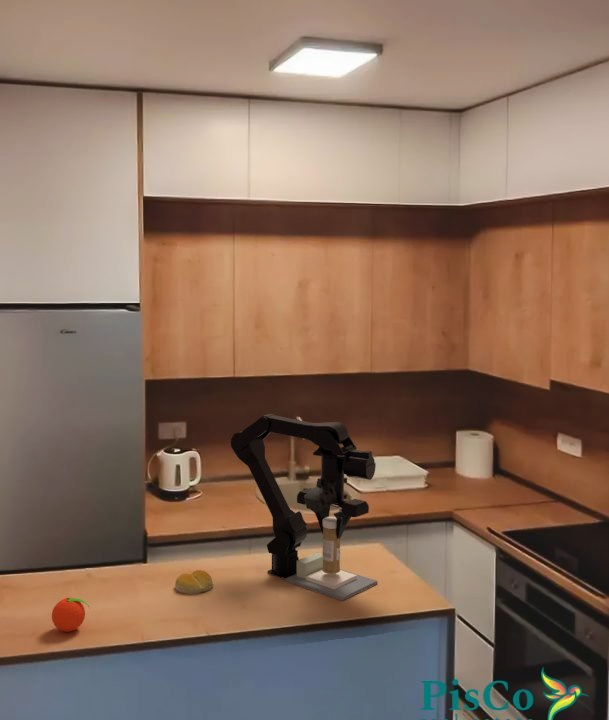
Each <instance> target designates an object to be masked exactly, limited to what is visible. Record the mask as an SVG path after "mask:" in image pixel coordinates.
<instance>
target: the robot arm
mask: <svg viewBox="0 0 609 720" xmlns="http://www.w3.org/2000/svg"><path fill="white" fill-rule="evenodd" d="M271 433H275V434H278V435H279V434H280V435H283V436H284V435H285V436H289V437H294V438H298V439H299V438H300V439H304V440H307V441H310V442H311V443H313V444H314V445H315V446H318V448H317V449H315V450H314V452H313V453H312V455H313V456H316V457H321V459H320V477H319V478H317V480H316V486H315V487H311V488H310V487H309V488H306V489H303V490H300V491H299V492H298V493H297V494H296V503H297V504H300V505H304V506H305V507H306V509H308V510H310V511H312V513H314V515H315V517H316V519H317V522H318V525H319V528H320V531H321V534H322V535H323V518H325V517H330V511H331V510H330V509H331V507H334V508H338V512H335V513H333V517H336V519H337V522H336V534H337V538H338V539H339V538H340V539H341V538H342V536H343V533H344V531H345V529H346V528H347V525H348V524H349V521H350V520H351V519H352V518H357V517H361V516H363V515H366V514H369V512H370V511H369V510H370V509H369V507H370V506H369V503H368V502H367V501H366V500H362V499H357V498H353V499H351V500H347V501H346V500H345V499H348V494H347V493H345V484H346V483H348V478H352V479H353V478H354V479H359V480H360V479H361V480H368V481H371V480H372V479H373V477H374V476H375V472H376V467H377V465H376V464H377V463H376V462H375V458H374V456H373V451H372V450H357V446H356V445H355V443H354V442H353V440H352V439H351V436H350V435H349V431H348V429H347V427H346V425H345V424H344V423H342V422H339V421H335V422H334V421H332V422H331V421H329V422H327V421H326V422H310V421H306V420H305V421H304V420H300V419H294V418H291V417H290V418H289V417H285V416H280V415H276V414H273V413H268V414H265V415H262V416H260V417H259V418H258V419H257V420H256V421H255V422H253V423H251V424H250V425H249V426H247V427H246V428H244V429H242V430H241V431H238V432H235V433H234V434H233V435H232V436H231V440H230V442H229V444H230V448H231V450H232V451H233V452H234V454H235V456H236V457H237V458H238V460H239V461H241V462H242V463H243V464H245V465H246V466H247V467H248V469H249V472H250V473H251V476H252V478H253V480H254V481H255V484H256V485H257V487H258V490H259V492H260V495H261V496H262V498H263V500H264V502H265V504H266V506H267V508H268V510H269V512H270V515H271V518H272V531H273V535H274V538H273V539H272V540H270V541H269V542H268V543H267V544H266V548H267V552H268V553H269V554H271V568H270V569H269V570H267V572H266V573H267V574H270V575H272V576H275V577H277V578H282V579H285V580H286V578H288V577H290V576H293V575H295V574H297V560H300V557H299V556H298V554H299V553H298V551H299V550H297V548H299V547H301V544H302V542H303V541H304V540H305V539H306V538H307V535H308V529H307V526H308V523H307V522H306V521H305V519H304V517H303V515H302V512H301V511H300V510H299V511H297V512H295V511H293V509H291V508H290V506H289V504H288V502H287V500H286V498H285V496H284V494H283V493H282V489H280V485H279V483H278V482H277V480H276V477H275V476H274V474H273V471H272V470H271V467H270V466H269V463H268V462H267V459H266V446H265V445H266V444H265V442H264V440H265V439H266V438H267V437H268V436H269V435H270V434H271ZM345 476H346V477H345Z"/></svg>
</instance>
